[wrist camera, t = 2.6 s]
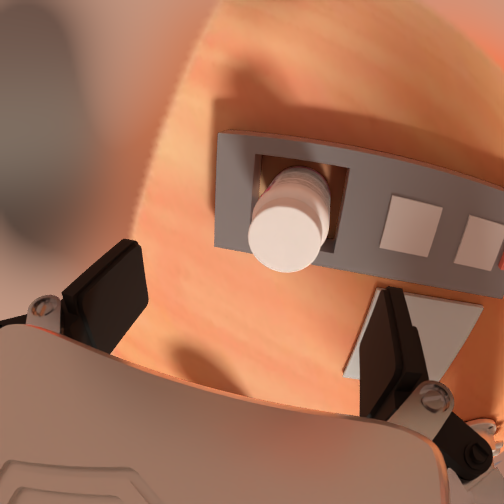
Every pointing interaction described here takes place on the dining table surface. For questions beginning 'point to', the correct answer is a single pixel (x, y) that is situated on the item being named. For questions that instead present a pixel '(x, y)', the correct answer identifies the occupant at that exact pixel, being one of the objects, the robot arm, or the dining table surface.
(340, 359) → the dining table surface
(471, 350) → the dining table surface
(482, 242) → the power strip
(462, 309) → the mat
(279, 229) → the pill bottle
